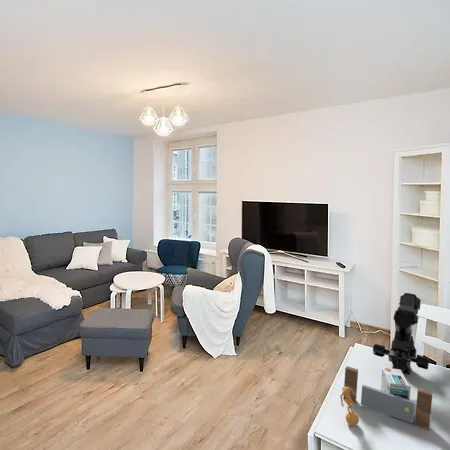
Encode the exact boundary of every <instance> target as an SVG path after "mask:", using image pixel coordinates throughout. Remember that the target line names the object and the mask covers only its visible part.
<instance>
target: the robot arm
mask: <svg viewBox="0 0 450 450" xmlns="http://www.w3.org/2000/svg"><path fill="white" fill-rule="evenodd" d="M421 301H422V300H421V299H420V298H419V297H418V296H417V295H416V294H415V293H410V292H403V294H402V295H400V297H399V306H398V307H397V309H396V310H395V312H394V315H393V321H394V328H395V330H394V338H393V339H392V341H391V346H390V347H391V348H390V349H386V346H385V345H383V344H378V343H375V344H373V346H372V353H373V354H372V355H375V356H377V357H381V358H384V357H385V356H387V357H388V361H389V362H391V364H392V369H400V370H401V371H402V373H403V374H407V375H410V374H411V369H412V366H411V363H414V364H416V366H417V367H418V368H420V369H423V370H429V364H430V359H429V358H428V356H424V355H421V354H417V349H416V346H415V341H414V337H413V335H412V333H413V328H412V327H413V326H414V325H415V326H416V324H418V321H419V317H418V314H419V311H420V310H421Z"/></svg>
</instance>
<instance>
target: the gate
mask: <svg viewBox="0 0 450 450" xmlns="http://www.w3.org/2000/svg"><path fill="white" fill-rule="evenodd" d="M360 405H362V406H363V407H366V408H369V409H372V410H374V411H377V412H379V413H383V414H386V415H387V416H391V417H393V418H396V419H399V420H402V421H405V422H408V423H410V424H414V418H415V416H414V413H415V407H416V402H415V401H414V400H408V399H405V398H402V397H399V396H396V395H393V394H390V393H387V392H384V391H381V389H377V388H374V387H371V386H368V385H365V384H362V386H361V398H360Z"/></svg>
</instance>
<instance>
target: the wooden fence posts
mask: <svg viewBox="0 0 450 450" xmlns="http://www.w3.org/2000/svg"><path fill="white" fill-rule="evenodd" d="M344 369H345V371H344V383H343V387H350V388H351V389H352V390H353V392H354V393H355V394H356V396H357V391H358V378H359V368H355V367H352V366H348V365H346V367H345V368H344ZM353 392H352V391H350V397H351V399H352V401H353V403H354V404H356V402H357V398H356V396H355V394H353ZM433 394H434V393H433V392H432V391H430V390H426V389H422V388H420V387H418V388H417V396H416V403H415V416H414V426H416V427H418V428H421V429H423V430H427V431H430V425H431V423H430V422H431V413H432V405H433V404H432V403H433ZM345 399H346V397H345V395H343V396H342V400H344V401H345Z"/></svg>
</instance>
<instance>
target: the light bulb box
mask: <svg viewBox="0 0 450 450" xmlns="http://www.w3.org/2000/svg"><path fill="white" fill-rule="evenodd" d="M411 388H412V387H411V384H410V382H408V380H407V378H406V377H405V374H404V373H403V372H402V371H401V370H400V369H392V368H390V367H385V366H384V367H383V366H382V369H381V385H380V390H381V391H384V392H387V393H390V394H393V395H396V396H399V397H402V398H405V399H408V400H410V399H411V397H410V395H411Z"/></svg>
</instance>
